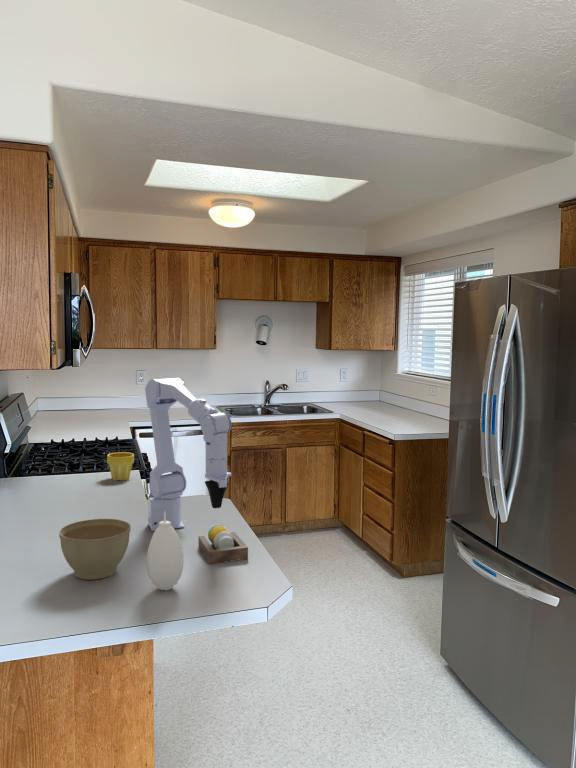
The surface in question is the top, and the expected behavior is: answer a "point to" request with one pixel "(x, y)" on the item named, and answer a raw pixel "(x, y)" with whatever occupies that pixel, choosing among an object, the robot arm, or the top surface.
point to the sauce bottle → (165, 556)
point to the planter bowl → (94, 546)
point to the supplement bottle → (220, 537)
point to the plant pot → (120, 465)
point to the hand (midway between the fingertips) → (216, 507)
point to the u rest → (223, 550)
